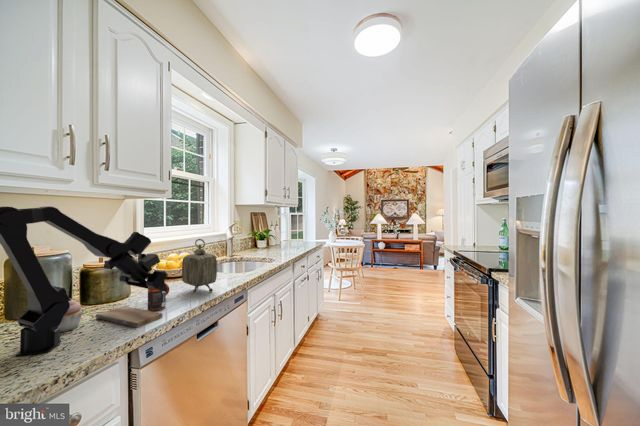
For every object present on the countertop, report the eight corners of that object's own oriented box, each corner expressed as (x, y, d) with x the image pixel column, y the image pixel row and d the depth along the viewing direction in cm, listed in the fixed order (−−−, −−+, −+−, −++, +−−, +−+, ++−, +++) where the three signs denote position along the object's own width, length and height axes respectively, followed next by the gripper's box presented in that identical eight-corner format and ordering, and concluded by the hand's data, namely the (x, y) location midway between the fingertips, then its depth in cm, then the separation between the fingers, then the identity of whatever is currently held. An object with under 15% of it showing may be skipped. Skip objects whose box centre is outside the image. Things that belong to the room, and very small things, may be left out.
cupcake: (54, 324, 86) (54, 294, 86) (89, 321, 89) (90, 291, 89) (35, 337, 77) (36, 303, 77) (75, 332, 81) (76, 299, 81)
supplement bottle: (168, 308, 102) (169, 279, 103) (152, 312, 97) (152, 282, 97) (160, 305, 106) (161, 277, 106) (144, 309, 101) (145, 280, 101)
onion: (161, 301, 110) (162, 282, 110) (150, 300, 111) (150, 281, 111) (172, 297, 116) (172, 279, 116) (160, 296, 117) (161, 278, 117)
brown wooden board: (134, 328, 84) (134, 323, 84) (95, 318, 91) (95, 314, 91) (162, 317, 93) (162, 313, 93) (124, 309, 100) (124, 305, 100)
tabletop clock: (216, 291, 125) (217, 239, 125) (199, 296, 117) (200, 240, 117) (197, 287, 132) (198, 237, 133) (180, 291, 124) (181, 238, 125)
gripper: (163, 249, 94) (188, 273, 104) (128, 246, 100) (155, 269, 111) (140, 275, 86) (170, 299, 97) (104, 270, 93) (136, 293, 103)
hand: (158, 289), depth 102 cm, fingers open, 9 cm apart
